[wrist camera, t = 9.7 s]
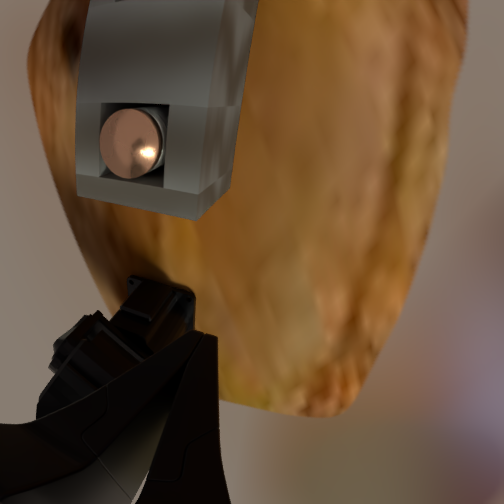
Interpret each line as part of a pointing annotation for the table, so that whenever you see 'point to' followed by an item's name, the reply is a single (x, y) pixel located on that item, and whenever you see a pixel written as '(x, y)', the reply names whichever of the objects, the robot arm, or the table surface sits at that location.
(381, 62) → the table surface
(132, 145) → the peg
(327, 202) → the table surface
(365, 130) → the table surface
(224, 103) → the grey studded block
